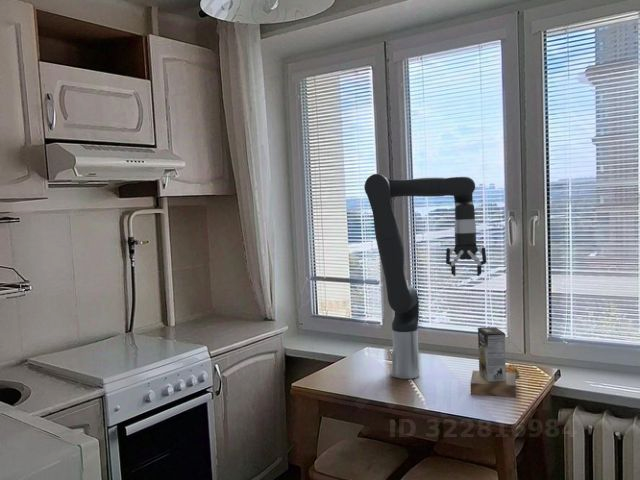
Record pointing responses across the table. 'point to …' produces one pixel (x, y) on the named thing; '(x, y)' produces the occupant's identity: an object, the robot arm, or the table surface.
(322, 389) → the table surface
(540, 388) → the table surface
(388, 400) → the table surface
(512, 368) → the pastry
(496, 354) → the coffee box
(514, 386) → the plinth
